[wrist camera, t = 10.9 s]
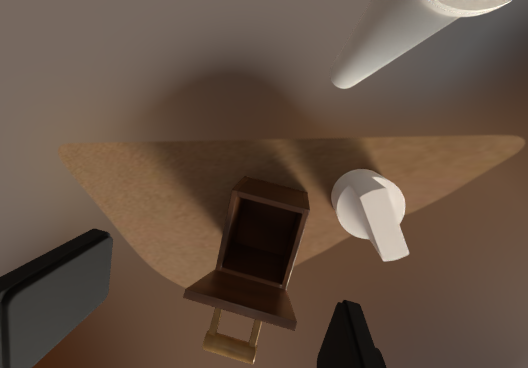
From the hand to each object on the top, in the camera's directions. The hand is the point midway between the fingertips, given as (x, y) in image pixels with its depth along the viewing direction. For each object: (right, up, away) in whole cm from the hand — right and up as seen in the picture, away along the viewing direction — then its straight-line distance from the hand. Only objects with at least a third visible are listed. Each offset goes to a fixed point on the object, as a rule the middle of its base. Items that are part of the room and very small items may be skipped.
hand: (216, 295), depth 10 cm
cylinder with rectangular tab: (+17, +3, +31) cm, 35 cm away
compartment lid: (0, -8, +20) cm, 21 cm away
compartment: (+2, -1, +34) cm, 34 cm away
